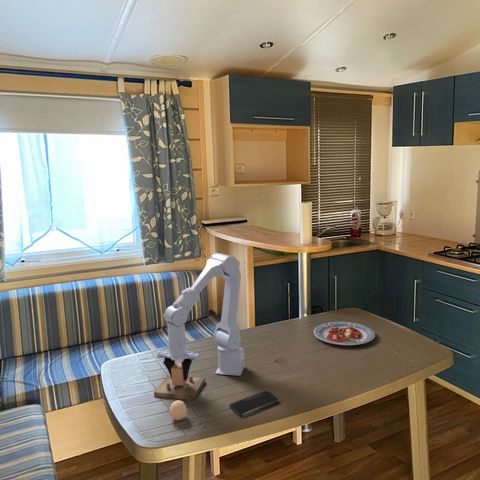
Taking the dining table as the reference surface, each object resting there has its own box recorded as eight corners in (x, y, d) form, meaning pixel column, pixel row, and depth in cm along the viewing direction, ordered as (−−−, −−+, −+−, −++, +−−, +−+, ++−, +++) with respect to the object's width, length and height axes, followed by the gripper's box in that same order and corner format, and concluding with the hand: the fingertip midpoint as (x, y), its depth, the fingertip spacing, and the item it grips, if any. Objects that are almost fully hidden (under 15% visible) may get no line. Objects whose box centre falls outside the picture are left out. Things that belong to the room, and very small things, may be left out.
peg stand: (204, 382, 153) (204, 372, 153) (193, 400, 142) (193, 390, 141) (168, 379, 157) (167, 370, 156) (154, 396, 145) (153, 386, 145)
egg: (189, 421, 130) (187, 403, 129) (172, 425, 128) (170, 407, 127) (185, 412, 135) (183, 395, 134) (168, 416, 133) (167, 398, 132)
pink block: (187, 380, 150) (186, 363, 149) (183, 385, 146) (182, 369, 145) (176, 379, 151) (175, 363, 150) (172, 384, 147) (171, 368, 146)
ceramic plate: (313, 325, 203) (313, 319, 202) (369, 326, 199) (369, 320, 199) (314, 348, 178) (314, 342, 177) (379, 350, 174) (379, 343, 174)
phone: (280, 400, 138) (240, 415, 131) (280, 403, 138) (240, 419, 131) (266, 390, 145) (227, 404, 137) (266, 393, 145) (227, 407, 138)
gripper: (152, 344, 144) (155, 382, 146) (193, 347, 141) (195, 385, 143) (160, 336, 151) (163, 372, 153) (200, 338, 148) (202, 375, 150)
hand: (179, 378), depth 149 cm, fingers closed on pink block, 4 cm apart
